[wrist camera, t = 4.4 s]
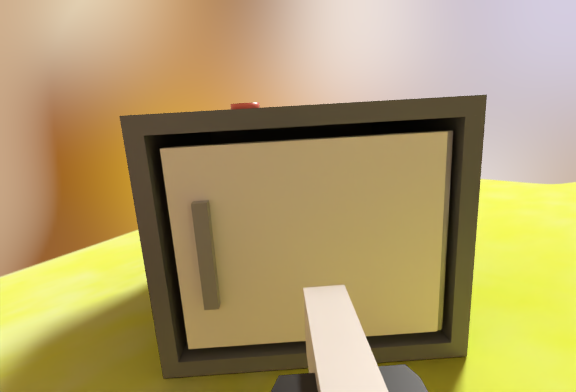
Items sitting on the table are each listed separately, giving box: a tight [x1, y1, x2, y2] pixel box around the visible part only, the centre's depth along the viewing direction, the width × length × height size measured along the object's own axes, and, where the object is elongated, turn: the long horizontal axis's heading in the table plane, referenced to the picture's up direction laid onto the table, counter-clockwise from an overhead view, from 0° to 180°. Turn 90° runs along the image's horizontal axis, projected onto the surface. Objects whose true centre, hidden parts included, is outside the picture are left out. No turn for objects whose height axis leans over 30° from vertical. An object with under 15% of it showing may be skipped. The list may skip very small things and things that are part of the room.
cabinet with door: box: [120, 95, 487, 378], centre depth 27 cm, size 20×18×16 cm
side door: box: [160, 131, 453, 349], centre depth 19 cm, size 15×1×12 cm, turn 92°
